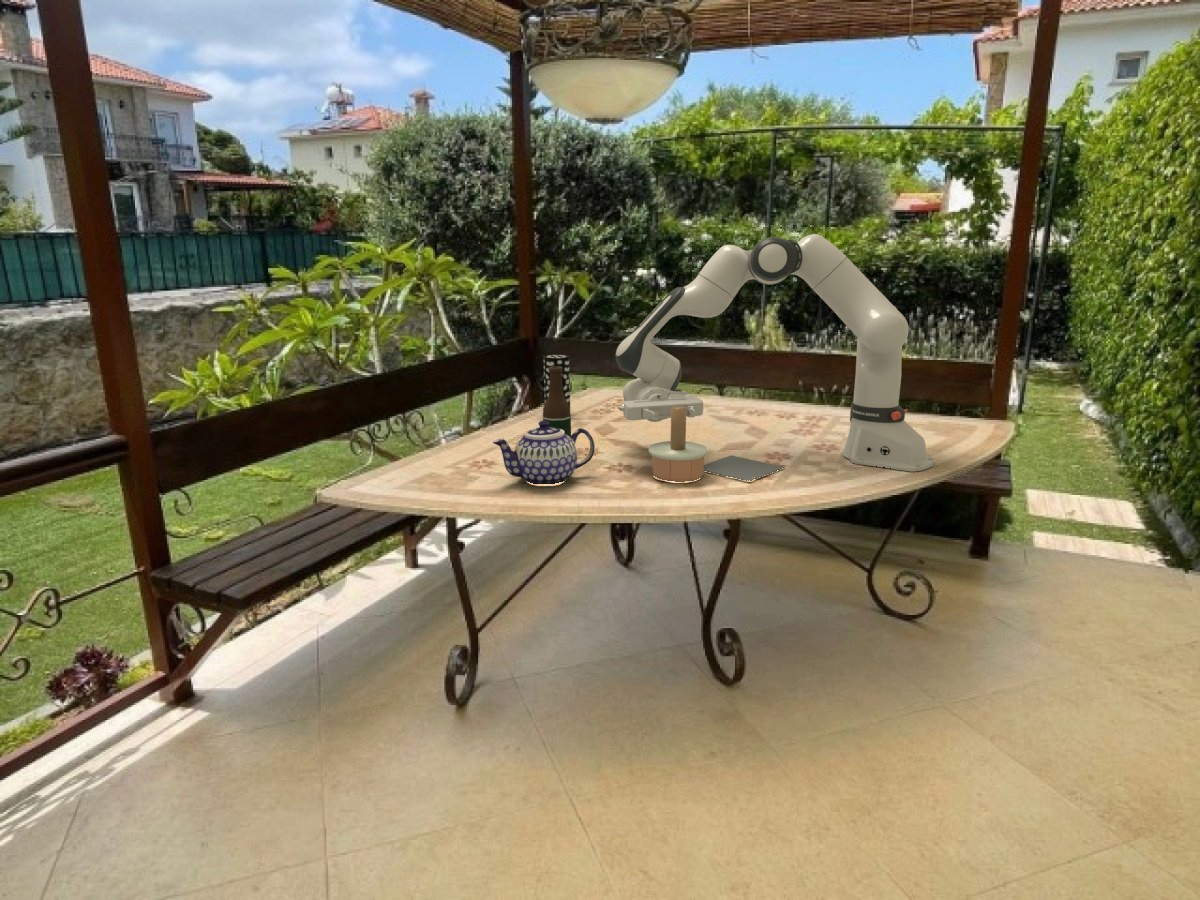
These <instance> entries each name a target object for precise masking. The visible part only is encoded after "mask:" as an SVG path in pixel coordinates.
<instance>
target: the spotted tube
mask: <svg viewBox="0 0 1200 900" xmlns="http://www.w3.org/2000/svg"><path fill="white" fill-rule="evenodd" d="M542 359H543V384H544V385H543V390H544V392H543V393H544V403H545V402H546V400H547V399H548V397H549V386H550V372H549V367H552V366H560V367H562V370H563V371H562V385H563V394H564V398H565V399H566V401H567V402H568V405H569V408H570V409H571V381H570V380H571V378H570V377H571V376H570V373H571V372H570V369H571V368H570V366H571V365H570V355H566V354H547V355H543V358H542Z"/></svg>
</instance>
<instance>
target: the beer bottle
mask: <svg viewBox="0 0 1200 900" xmlns="http://www.w3.org/2000/svg"><path fill="white" fill-rule="evenodd" d="M562 371H563V370H562V367H560V366H552V367H549V372H550V386H549V397H548V399H547V400H546V402H545V401H544V404H543V407H542V421H543V420H545V421H548V422H549V425H548V427H551V428H558V429H562V430H564V433H565V434H566V435H568V436H571V435H572V418H571V417H572V416H571V407H570V408H569V405H568V402H567V401H566V399H565V398H564V394H563V385H562Z"/></svg>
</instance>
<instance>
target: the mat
mask: <svg viewBox="0 0 1200 900" xmlns="http://www.w3.org/2000/svg"><path fill="white" fill-rule="evenodd" d="M782 468H786V467H785V466H783V465H778V464H773V463H769V462H764V461H761V460H760V461H759V460H754V459H750V458H747V457H742V456H736V455H728V456H724V457H722V458H719V459H717V460H714V461H711V462H708V463H704V471H707V472H711V473H715V474H719V475H724V476H728V477H733V478H737V479H741V480H746V481H747V480H748V481H749V480H750V481H752V480H753V479H757V478H759V477H762V476H764V475H767V474H770V473H772V472H775V471H777V470H780V469H782ZM752 477H753V478H752ZM754 477H755V478H754Z"/></svg>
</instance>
